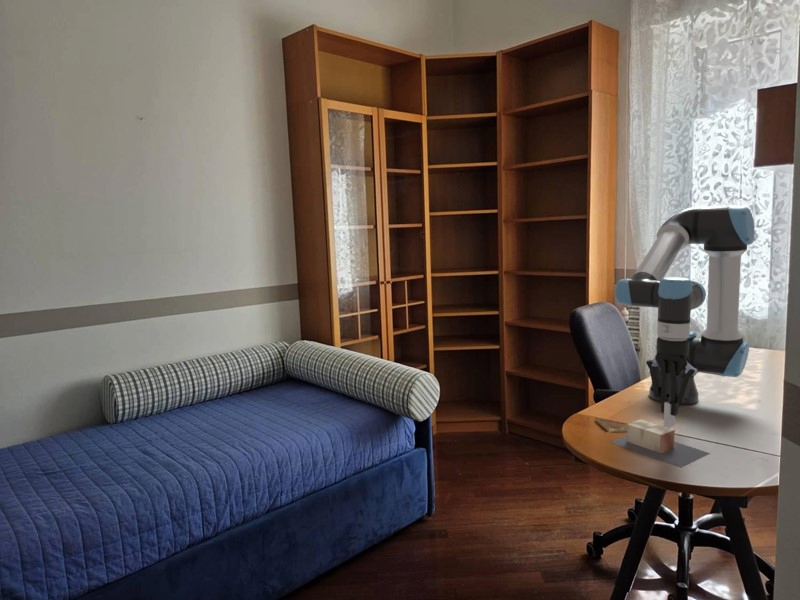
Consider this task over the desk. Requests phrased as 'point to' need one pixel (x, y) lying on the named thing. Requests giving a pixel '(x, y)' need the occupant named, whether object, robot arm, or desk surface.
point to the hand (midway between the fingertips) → (669, 425)
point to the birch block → (650, 436)
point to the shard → (612, 425)
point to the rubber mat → (674, 456)
